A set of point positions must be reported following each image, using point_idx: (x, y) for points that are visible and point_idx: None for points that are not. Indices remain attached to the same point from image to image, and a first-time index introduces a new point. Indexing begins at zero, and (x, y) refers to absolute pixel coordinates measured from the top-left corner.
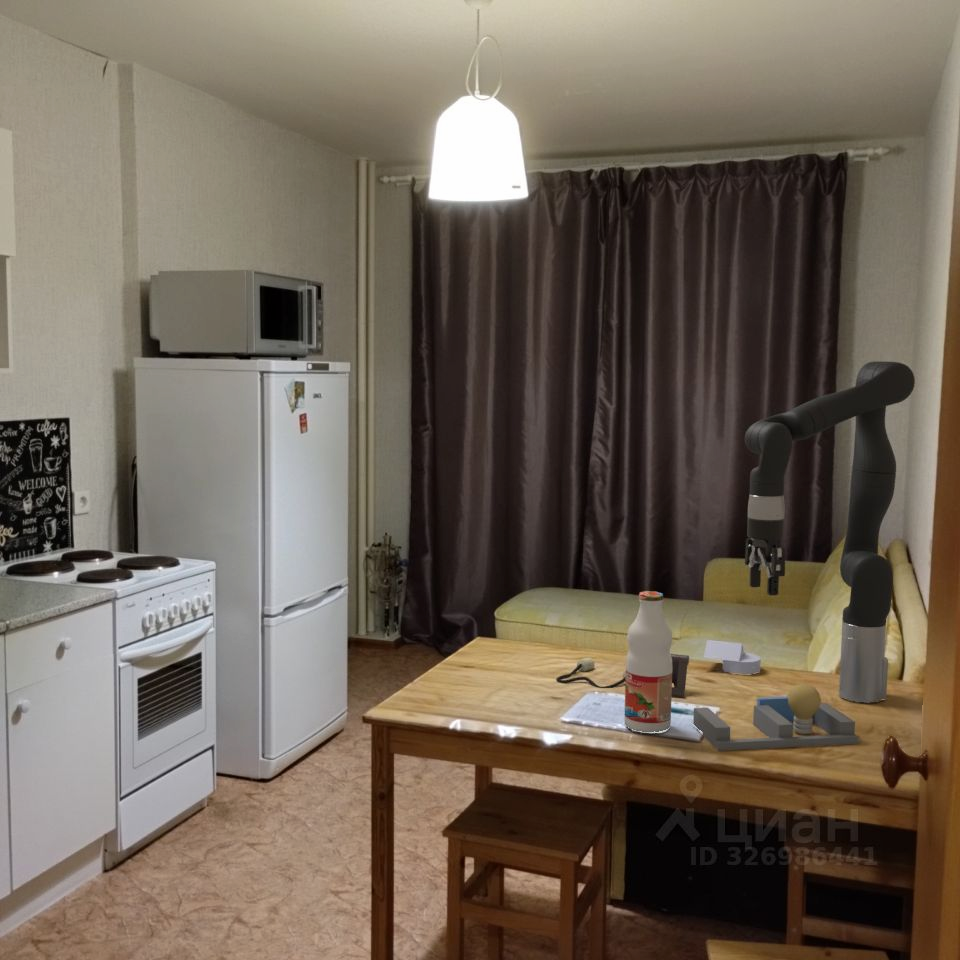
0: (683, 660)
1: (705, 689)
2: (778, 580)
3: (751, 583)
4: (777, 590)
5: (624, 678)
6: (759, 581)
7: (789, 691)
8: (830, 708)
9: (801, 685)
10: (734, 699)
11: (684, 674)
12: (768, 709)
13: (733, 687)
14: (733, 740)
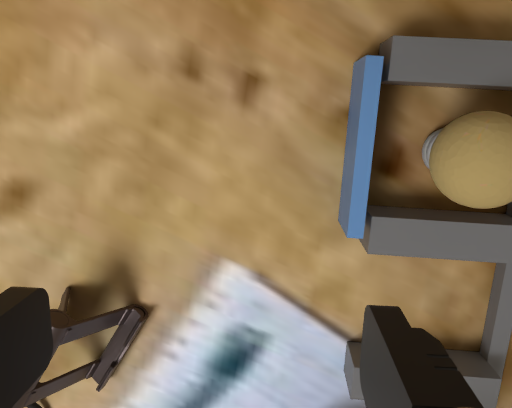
0: (65, 336)
1: (88, 232)
2: (443, 386)
3: (36, 376)
4: (441, 349)
5: (28, 405)
6: (18, 314)
7: (457, 198)
8: (445, 52)
9: (504, 179)
10: (174, 197)
11: (97, 321)
12: (407, 232)
13: (78, 154)
14: (494, 356)
